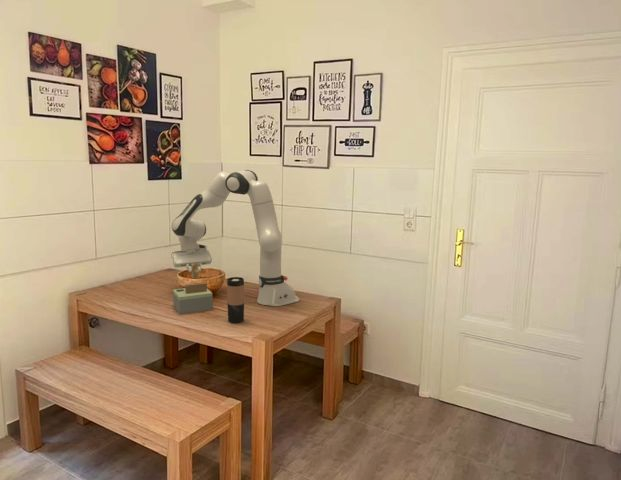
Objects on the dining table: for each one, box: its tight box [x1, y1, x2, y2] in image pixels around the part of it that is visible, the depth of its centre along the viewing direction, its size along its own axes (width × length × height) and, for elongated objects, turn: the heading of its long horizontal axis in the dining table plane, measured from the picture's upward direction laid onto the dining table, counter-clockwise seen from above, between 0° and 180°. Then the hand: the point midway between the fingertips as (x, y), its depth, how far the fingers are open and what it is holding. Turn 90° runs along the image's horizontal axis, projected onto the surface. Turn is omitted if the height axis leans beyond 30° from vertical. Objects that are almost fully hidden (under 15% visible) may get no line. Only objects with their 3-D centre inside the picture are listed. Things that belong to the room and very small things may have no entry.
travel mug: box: [226, 276, 245, 324], centre depth 216 cm, size 8×8×20 cm
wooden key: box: [190, 263, 200, 280], centre depth 249 cm, size 3×3×18 cm
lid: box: [172, 282, 213, 300], centre depth 230 cm, size 16×14×6 cm
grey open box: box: [172, 292, 214, 315], centre depth 231 cm, size 16×14×8 cm
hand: (195, 271), depth 247 cm, fingers closed on wooden key, 3 cm apart
